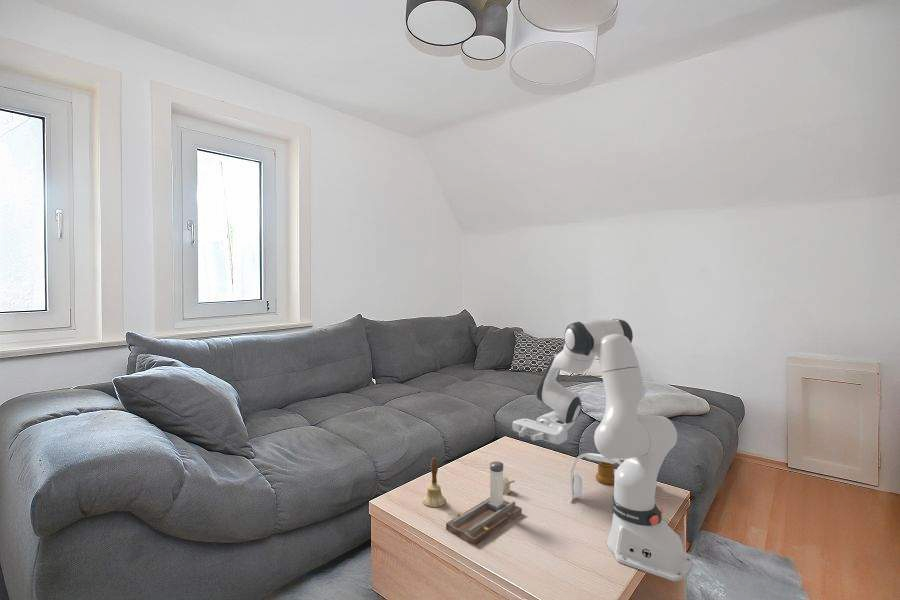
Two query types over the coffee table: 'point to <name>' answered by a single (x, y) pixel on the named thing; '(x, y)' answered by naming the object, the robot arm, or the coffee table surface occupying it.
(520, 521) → the coffee table surface
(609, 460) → the headset
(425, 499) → the hand bell
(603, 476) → the ornamental finial
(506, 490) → the decorative ornament
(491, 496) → the fader tab
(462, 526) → the fader track
